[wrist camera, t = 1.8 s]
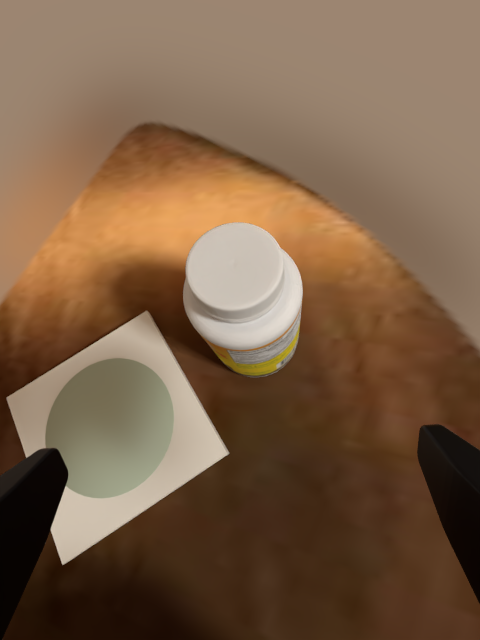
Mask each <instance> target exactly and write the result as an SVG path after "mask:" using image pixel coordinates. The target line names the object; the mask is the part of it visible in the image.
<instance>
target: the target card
mask: <svg viewBox="0 0 480 640" xmlns="http://www.w3.org/2000/svg"><path fill="white" fill-rule="evenodd" d="M6 399H7V402H8V405H9V408H10V411H11V414H12V417H13V420H14V423H15V425H16V428H17V431H18V434H19V437H20V440H21V443H22V446H23V449H24V452H25V455H26V458H27V457H29V456H30V455H31V454H33V453H34V452H36V451H37V450H39V449H42V448H56V449H58V450H59V452H60V454H61V456H62V458H63V460H64V462H65V464H66V467H67V469H68V481H67V484H66V486H65V489H64V492H63V495H62V498H61V501H60V504H59V507H58V509H57V512H56V515H55V518H54V521H53V524H52V527H51V532H52V535H53V538H54V541H55V544H56V547H57V550H58V553H59V556H60V559H61V562H62V565H63V564H65V563H67V562H69V561H71V560H72V559H73V558H75V557H76V556H78V555H79V554H81V553H82V552H84V551H85V550H87V549H88V548H90V547H91V546H93V545H94V544H96V543H97V542H99V541H100V540H102V539H103V538H105V537H106V536H108V535H109V534H111V533H112V532H114V531H115V530H117V529H118V528H119V527H121V526H122V525H124V524H125V523H127V522H128V521H130V520H131V519H133V518H134V517H136V516H137V515H139V514H140V513H142V512H143V511H145V510H146V509H148V508H149V507H151V506H152V505H154V504H155V503H157V502H158V501H160V500H161V499H163V498H164V497H166V496H167V495H168V494H170V493H171V492H173V491H174V490H176V489H177V488H179V487H180V486H182V485H183V484H185V483H186V482H188V481H189V480H191V479H192V478H194V477H195V476H197V475H198V474H200V473H201V472H203V471H204V470H206V469H207V468H209V467H210V466H212V465H213V464H214V463H216V462H217V461H219V460H220V459H222V458H223V457H225V456H226V455H228V454H229V452H228V450H227V448H226V446H225V445H224V443H223V441H222V439H221V438H220V436H219V434H218V432H217V431H216V429H215V427H214V425H213V424H212V422H211V420H210V418H209V417H208V415H207V413H206V411H205V409H204V408H203V406H202V404H201V402H200V401H199V399H198V397H197V395H196V394H195V392H194V390H193V388H192V387H191V385H190V383H189V381H188V380H187V378H186V376H185V374H184V373H183V371H182V369H181V367H180V365H179V364H178V362H177V360H176V358H175V357H174V355H173V353H172V351H171V350H170V348H169V346H168V344H167V343H166V341H165V339H164V337H163V336H162V334H161V332H160V330H159V328H158V327H157V325H156V323H155V321H154V320H153V318H152V316H151V314H150V313H149V312H148V311H145V312H144V313H142V314H140V315H139V316H137V317H136V318H134V319H132V320H131V321H129V322H127V323H126V324H124V325H123V326H121V327H119V328H118V329H116V330H115V331H113V332H111V333H110V334H108V335H107V336H105V337H103V338H102V339H100V340H98V341H97V342H95V343H94V344H92V345H90V346H89V347H87V348H86V349H84V350H82V351H81V352H79V353H78V354H76V355H74V356H73V357H71V358H70V359H68V360H66V361H65V362H63V363H61V364H60V365H58V366H57V367H55V368H53V369H52V370H50V371H49V372H47V373H45V374H44V375H42V376H41V377H39V378H37V379H36V380H34V381H32V382H31V383H29V384H28V385H26V386H24V387H23V388H21V389H20V390H18V391H16V392H15V393H13V394H12V395H10V396H8V397H7V398H6Z"/></svg>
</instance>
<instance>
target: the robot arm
mask: <svg viewBox="0 0 480 640" xmlns="http://www.w3.org/2000/svg"><path fill="white" fill-rule="evenodd" d="M417 454H418V460H419V463H420V466H421V469H422V471H423V474H424V477H425V480H426V482H427V485H428V488H429V491H430V493H431V496H432V499H433V502H434V504H435V507H436V510H437V513H438V515H439V518H440V521H441V523H442V526H443V528H444V531H445V533H446V535H447V537H448V539H449V541H450V544H451V546H452V548H453V550H454V552H455V554H456V556H457V558H458V560H459V562H460V564H461V566H462V568H463V570H464V572H465V575H466V577H467V579H468V581H469V583H470V585H471V587H472V589H473V591H474V593H475V595H476V597H477V599H478V601H479V603H480V450H479V449H477V448H476V447H474V446H473V445H471V444H470V443H468V442H467V441H465V440H464V439H462V438H460V437H459V436H457V435H456V434H454V433H453V432H451V431H450V430H448V429H447V428H445V427H444V426H442V425H439V424H434V425H423V426H421V428H420V432H419V441H418V450H417ZM67 481H68V469H67V467H66V464H65V462H64V460H63V458H62V456H61V454H60V452H59V450H58V449H56V448H42V449H39V450H37V451H36V452H34V453H33V454H31V455H30V456H29V457H27V458H26V459H24V460H23V461H21V462H20V463H18V464H17V465H15V466H14V467H13V468H11V469H10V470H8V471H7V472H5V473H4V474H2V475H1V476H0V640H2V638H3V636H4V634H5V632H6V629H7V627H8V625H9V623H10V621H11V618H12V616H13V614H14V612H15V610H16V607H17V605H18V603H19V601H20V598H21V596H22V594H23V592H24V590H25V587H26V585H27V583H28V581H29V579H30V576H31V574H32V572H33V570H34V567H35V565H36V563H37V561H38V559H39V556H40V554H41V552H42V550H43V547H44V545H45V543H46V540H47V537H48V535H49V532H50V529H51V527H52V524H53V521H54V518H55V515H56V512H57V509H58V507H59V504H60V501H61V498H62V495H63V492H64V489H65V486H66V484H67Z"/></svg>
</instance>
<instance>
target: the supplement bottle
mask: <svg viewBox="0 0 480 640" xmlns="http://www.w3.org/2000/svg"><path fill="white" fill-rule="evenodd" d="M185 270H186V279H185V283H184V288H183V302H184V307H185V311H186V314H187V316H188V318H189V320H190V322H191V323H192V325H193V326H194V328H195V329H196V331H197V332H198V333H199V334H200V335H201V337H202V338H203V339H204V340H205V341H206V343H207V344H208V345H209V346H210V348H211V349H212V350H213V351H214V352H215V354H216V355H217V356H218V357H219V359H220V360H221V361H222V362H223V363H224V364H225V365H226V366H227V367H228V368H229V369H231V370H232V371H234V372H236V373H238V374H240V375H243V376H247V377H263V376H267V375H270V374H273V373H275V372H277V371H278V370H280V369H281V368H283V367H284V366H285V365H286V364H287V363H288V362H289V360H290V359H291V358H292V356H293V354H294V352H295V350H296V347H297V343H298V336H299V328H300V318H301V307H302V295H303V288H302V281H301V276H300V273H299V271H298V268H297V266H296V265H295V263H294V261H293V260H292V258H291V257H290V256H289V255H288V254H287V253H286V252H285V251H284V250H283V249H281V248H280V246H279V244H278V243H277V241H276V240H275V239H274V238H273V236H272V235H270V234H269V233H268V232H267V231H265V230H264V229H262V228H260V227H258V226H255V225H253V224H248V223H240V222H238V223H228V224H223V225H220V226H217V227H215V228H213V229H211V230H209V231H208V232H206V233H205V234H204V235H202V236H201V237H200V238H199V239H198V240H197V241H196V243H195V244H194V245H193V247H192V248H191V250H190V252H189V254H188V257H187V261H186V269H185Z"/></svg>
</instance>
